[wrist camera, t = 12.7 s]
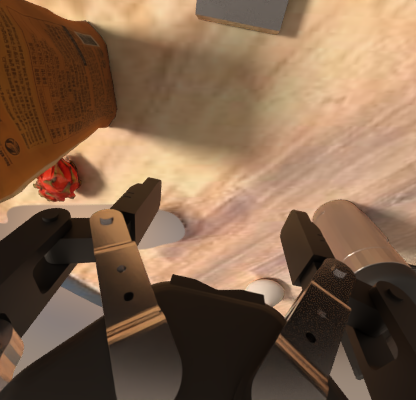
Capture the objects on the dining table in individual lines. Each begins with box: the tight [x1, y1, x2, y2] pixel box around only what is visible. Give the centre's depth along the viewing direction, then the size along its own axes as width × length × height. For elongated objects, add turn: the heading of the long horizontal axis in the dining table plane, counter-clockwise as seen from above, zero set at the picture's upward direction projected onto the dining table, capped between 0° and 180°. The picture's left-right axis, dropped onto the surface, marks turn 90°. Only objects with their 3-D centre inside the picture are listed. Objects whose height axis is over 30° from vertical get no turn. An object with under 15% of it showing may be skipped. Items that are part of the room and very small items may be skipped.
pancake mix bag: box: [0, 0, 117, 203], centre depth 25 cm, size 7×19×28 cm, turn 177°
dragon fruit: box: [33, 158, 81, 202], centre depth 45 cm, size 8×8×12 cm
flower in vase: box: [245, 279, 284, 307], centre depth 51 cm, size 13×11×25 cm
